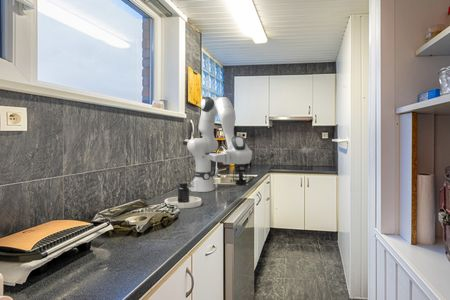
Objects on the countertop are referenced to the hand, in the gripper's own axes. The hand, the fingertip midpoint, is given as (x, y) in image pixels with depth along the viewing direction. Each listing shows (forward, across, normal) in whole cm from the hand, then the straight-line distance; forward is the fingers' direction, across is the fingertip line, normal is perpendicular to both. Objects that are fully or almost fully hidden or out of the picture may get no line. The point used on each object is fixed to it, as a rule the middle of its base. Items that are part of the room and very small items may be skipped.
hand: (203, 157), depth 194 cm
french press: (-41, -72, +28) cm, 88 cm away
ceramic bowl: (+12, 0, +28) cm, 30 cm away
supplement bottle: (+12, 0, +27) cm, 30 cm away
